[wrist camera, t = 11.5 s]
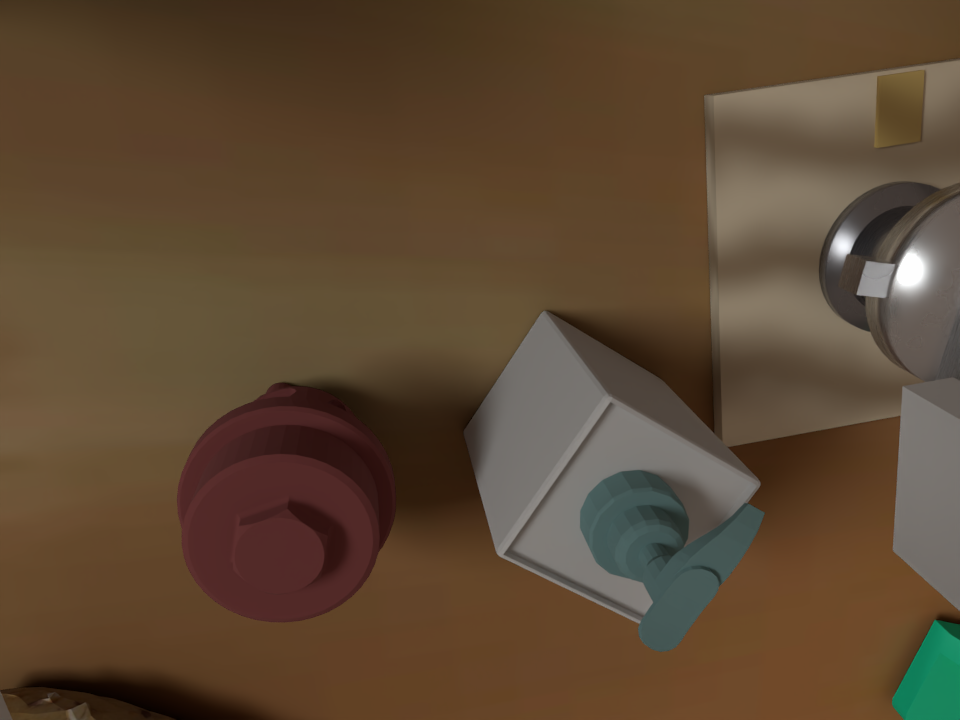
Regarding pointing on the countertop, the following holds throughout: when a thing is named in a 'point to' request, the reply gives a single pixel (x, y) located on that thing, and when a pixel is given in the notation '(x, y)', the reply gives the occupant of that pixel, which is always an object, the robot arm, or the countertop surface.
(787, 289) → the board
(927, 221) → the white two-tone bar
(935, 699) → the camera mount
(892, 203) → the metal spool
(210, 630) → the countertop surface
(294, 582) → the mechanical component
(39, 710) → the bread
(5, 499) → the countertop surface
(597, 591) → the soap bottle
